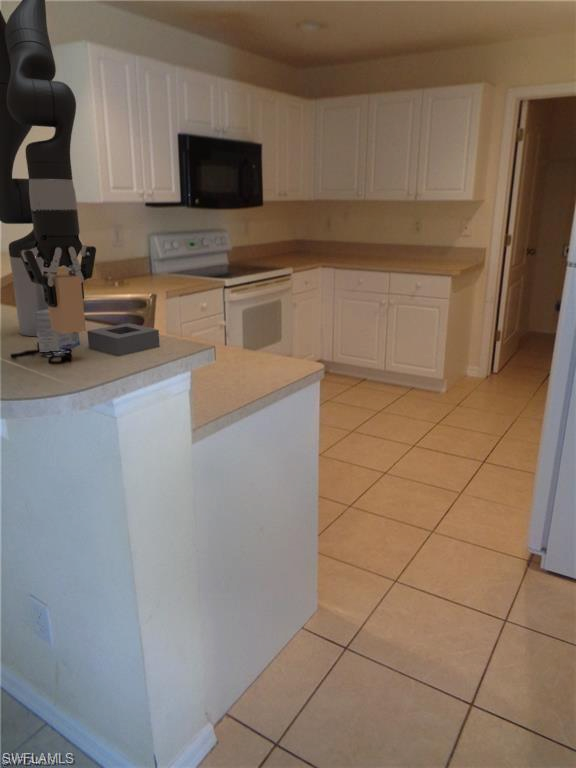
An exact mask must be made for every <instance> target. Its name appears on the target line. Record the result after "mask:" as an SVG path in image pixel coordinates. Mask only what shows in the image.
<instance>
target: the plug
mask: <svg viewBox="0 0 576 768" xmlns="http://www.w3.org/2000/svg"><path fill="white" fill-rule="evenodd" d="M53 286H55V287H56V296H57V307H49V306H48V307H49V315H50V324H51V331H54V332H58V333H62V334H67V333H73V332H82V331H87V328H86V327H87V326H86V320H85V319H86V317H85V310H84V309H85V308H84V300H83V296H82V286H81V276H75V275H69V273H68V274H57V275H55V282H54V285H53Z"/></svg>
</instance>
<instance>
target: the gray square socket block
mask: <svg viewBox="0 0 576 768" xmlns="http://www.w3.org/2000/svg"><path fill="white" fill-rule="evenodd" d="M159 332H160V331H159V329H157V328H152V327H147V326H143V325H139V324H135V323H134V324H133V323H129V322H126V323H122V324H116V325H111V326H106V327H101V328H95V329H90V330H86V333H87V339H88V340H87V341H88V348H89V349H91V350H95V351H99V352H103V353H106V354H109V355H113V356H115V357H121V356H125V355H130V354H134V353H138V352H142V351H143V352H144V351H147V350H150V349H156V348H160V333H159Z"/></svg>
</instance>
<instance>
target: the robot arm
mask: <svg viewBox="0 0 576 768" xmlns="http://www.w3.org/2000/svg"><path fill="white" fill-rule="evenodd" d="M47 23H48V21H47V9H46V0H21V1H20V3H19V4H18V5H17V6H16V7H15V9H14V10H13V11H12V13H11V14H10V16H9V17H8V19H7V21H6V19H5V17H4V15H3V12H2V11H1V9H0V222H1V223H3V224H7V225H22V224H24V225H26V224H28V225H30V224H32V225H33V226H32V227H33V228H32V231H30V232H29V233H28V234H27V235H25V236H23V237H21V238H19V239H16V240H14V241H11V242H10V243H9V244H8V253H9V254H8V255H9V262H10V268H11V273H12V274H11V275H12V281H13V288H14V300H15V307H16V313H17V321H18V328H19V333H20V335H22V336H28V337H38V336H37V329H36V322H35V314H34V313H35V312H39V311H42V310H45V309H48V308H49V307H57V296H56V287H55V286H53V285H54V282H55V275H58V271H59V268H60V267H64V269H65V270H66V271H67V273H68V274H69V275H75V276H81V286H82V296H83V301H84V300H85V292H84V282H85V281H86V280H88V279H91V278H92V277H93V271H94V265H95V261H96V253H97V248H96V247H95V246H93V245H92V246H90V245H86V244H82V242H81V240H80V237H79V236H80V223H79V213H78V212H79V211H78V203H77V195H76V191H75V186H74V181H73V172H72V164H71V163H72V162H71V161H72V160H71V144H72V142H71V141H72V134H73V128H74V123H75V117H76V111H77V100H76V97H75V94H74V92H73V90H72V88H70V86H69V85H68V84H66V83H65V82H63V81H59V80H58V81H57V80H54V79H55V76H56V72H57V68H56V62H55V58H54V54H53V49H52V44H51V42H50V37H49V30H48V24H47ZM32 127H44V128H45V127H47V128H54V129H55V130H54V133H53V134H54V135H53V136H52V137H51V138H49V139H45V140H37V141H33V142H30V143H28V144H26V147H25V159H26V168H27V175H28V178H20V177H19V178H14V177H13V170H14V164H15V161H16V157H17V154H18V151H19V150H20V147H21V145H22V144H23V142H24V141H25V139H26V137H27V136H28V134H29V133H30V131H31V130H32ZM79 254H80V255H81V260H80V261H79V259H78V257H79V256H80V255H79ZM48 306H49V307H48Z"/></svg>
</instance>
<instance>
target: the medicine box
mask: <svg viewBox="0 0 576 768" xmlns="http://www.w3.org/2000/svg"><path fill="white" fill-rule="evenodd" d="M34 314H35V322H36V329H37V336H36V337H37V342H38V350H39V353H40V352H49V351H59V350H61V349H62V348H69V350H71V349H74V348H76V347H78V346H81V342H80V334H79V332H80V331H79V332H73V333H67V334H62V333H58V332H54V331H51V324H50V315H49V308H48V309H45V310H42V311H39V312H35V313H34Z"/></svg>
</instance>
